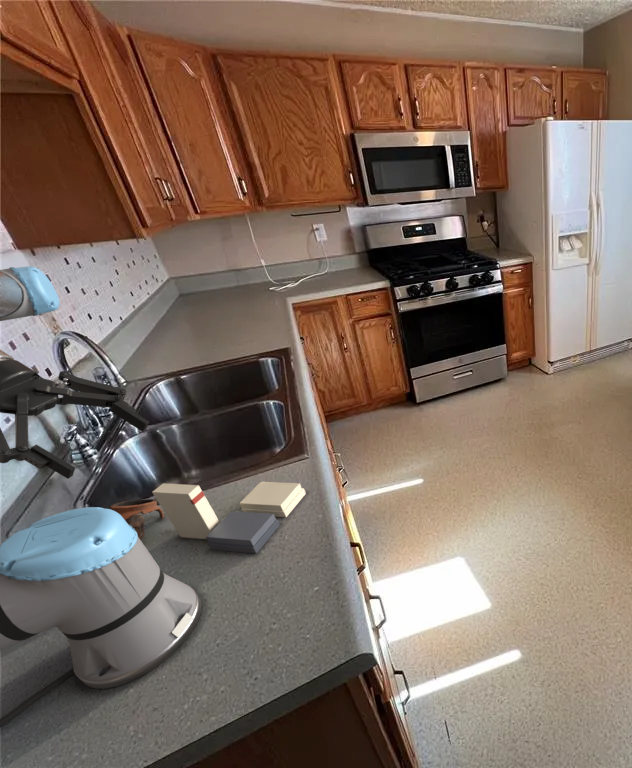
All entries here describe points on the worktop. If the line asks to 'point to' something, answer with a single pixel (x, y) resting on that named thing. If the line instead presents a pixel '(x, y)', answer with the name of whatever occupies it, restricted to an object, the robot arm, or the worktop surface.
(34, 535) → the robot arm
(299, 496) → the cream books
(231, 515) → the grey books
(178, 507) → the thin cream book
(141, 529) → the brown footed bowl
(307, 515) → the worktop surface
